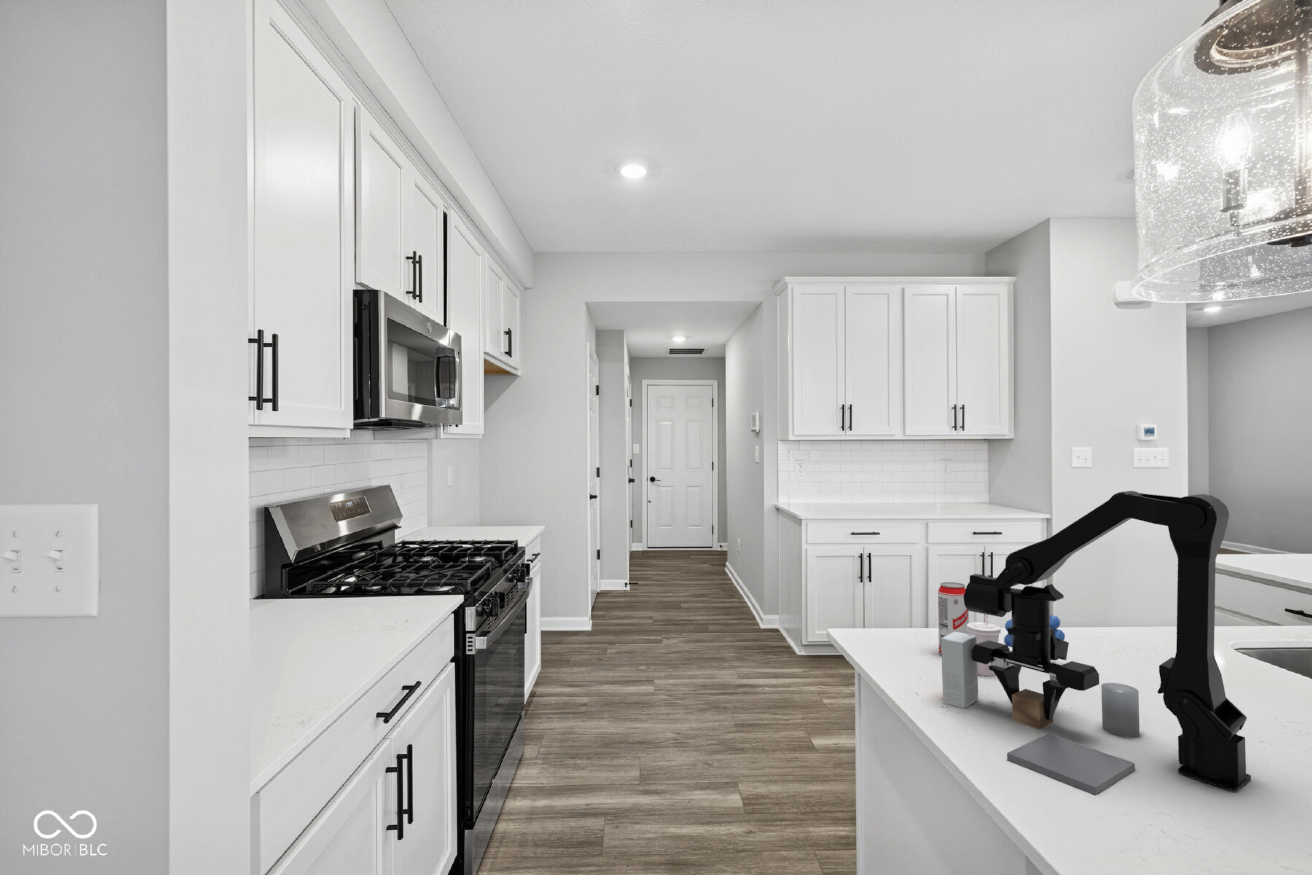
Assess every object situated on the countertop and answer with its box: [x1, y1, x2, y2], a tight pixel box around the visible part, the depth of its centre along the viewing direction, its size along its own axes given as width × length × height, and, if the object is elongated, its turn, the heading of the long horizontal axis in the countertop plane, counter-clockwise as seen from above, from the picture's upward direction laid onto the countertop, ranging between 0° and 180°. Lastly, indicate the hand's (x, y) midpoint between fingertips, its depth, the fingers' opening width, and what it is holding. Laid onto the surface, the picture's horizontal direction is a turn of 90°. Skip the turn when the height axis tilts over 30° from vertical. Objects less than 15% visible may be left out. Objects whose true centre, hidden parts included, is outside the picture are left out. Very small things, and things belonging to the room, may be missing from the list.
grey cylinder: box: [1100, 682, 1141, 739], centre depth 107 cm, size 5×5×7 cm
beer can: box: [937, 581, 970, 655], centre depth 146 cm, size 6×6×16 cm
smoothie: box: [967, 614, 1002, 677], centre depth 135 cm, size 6×6×14 cm
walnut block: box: [1011, 688, 1054, 730], centre depth 111 cm, size 4×4×4 cm
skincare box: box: [941, 632, 979, 709], centre depth 121 cm, size 6×4×12 cm
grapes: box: [1003, 614, 1066, 648], centre depth 142 cm, size 12×7×12 cm, turn 51°
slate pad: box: [1006, 732, 1136, 796], centre depth 96 cm, size 12×12×1 cm
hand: (1032, 714), depth 111 cm, fingers open, 5 cm apart
